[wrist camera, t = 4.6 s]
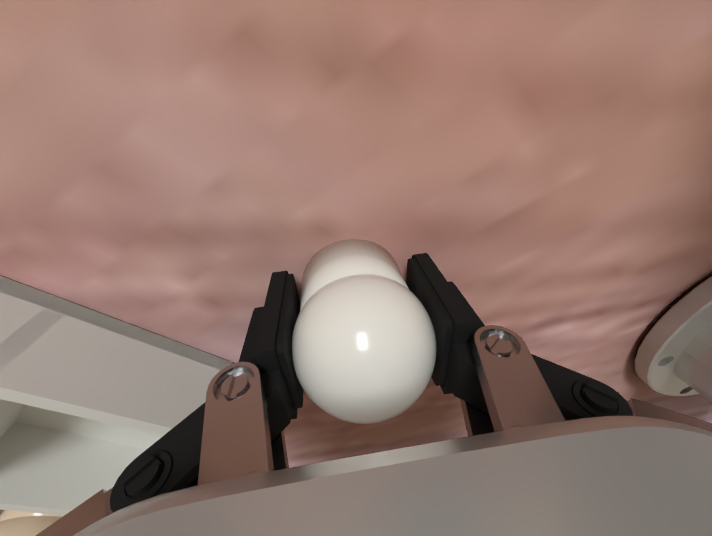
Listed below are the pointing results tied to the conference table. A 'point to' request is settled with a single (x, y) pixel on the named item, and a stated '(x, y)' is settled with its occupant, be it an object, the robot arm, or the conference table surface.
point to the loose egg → (361, 335)
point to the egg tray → (83, 397)
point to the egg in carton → (25, 523)
